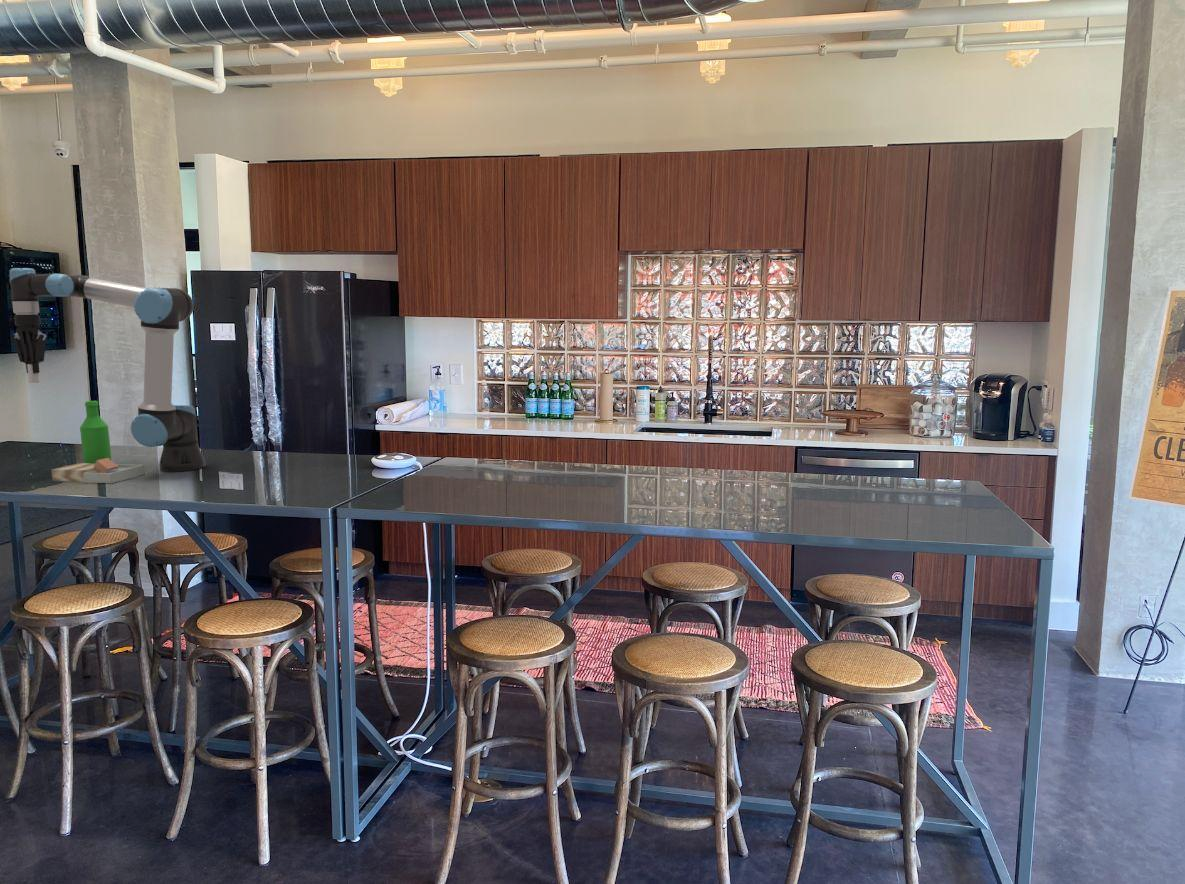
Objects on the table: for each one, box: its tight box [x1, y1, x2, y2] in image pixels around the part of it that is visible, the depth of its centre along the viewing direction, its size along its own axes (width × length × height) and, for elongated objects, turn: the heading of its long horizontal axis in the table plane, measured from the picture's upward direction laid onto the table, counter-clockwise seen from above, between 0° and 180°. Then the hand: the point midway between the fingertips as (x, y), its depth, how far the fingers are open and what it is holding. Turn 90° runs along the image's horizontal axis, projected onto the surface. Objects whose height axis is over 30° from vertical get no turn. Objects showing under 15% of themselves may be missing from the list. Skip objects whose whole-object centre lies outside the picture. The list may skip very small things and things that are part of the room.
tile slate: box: [108, 468, 128, 473], centre depth 294 cm, size 5×5×3 cm
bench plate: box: [51, 462, 96, 483], centre depth 297 cm, size 14×12×4 cm
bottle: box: [79, 400, 113, 464], centre depth 312 cm, size 9×9×25 cm
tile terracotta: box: [93, 458, 119, 473], centre depth 294 cm, size 5×5×3 cm
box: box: [83, 463, 146, 485], centre depth 294 cm, size 10×16×4 cm, turn 169°
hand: (34, 382), depth 298 cm, fingers closed
